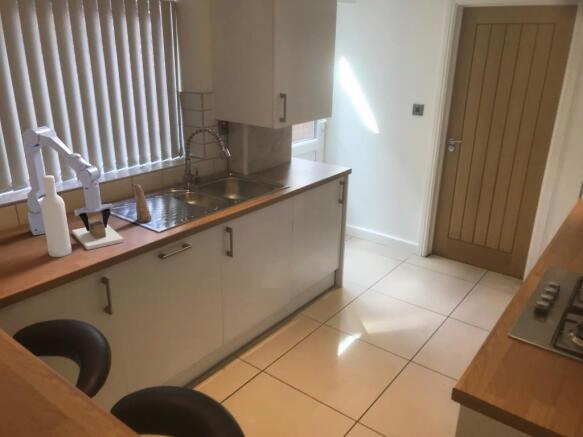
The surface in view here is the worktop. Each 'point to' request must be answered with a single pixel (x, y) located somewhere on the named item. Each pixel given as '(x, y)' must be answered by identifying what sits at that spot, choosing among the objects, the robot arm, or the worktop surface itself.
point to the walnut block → (97, 228)
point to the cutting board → (93, 243)
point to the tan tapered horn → (141, 205)
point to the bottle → (55, 220)
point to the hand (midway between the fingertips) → (96, 228)
